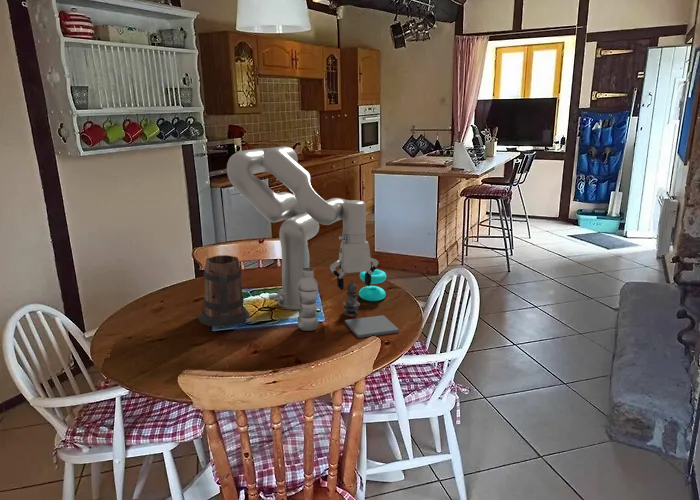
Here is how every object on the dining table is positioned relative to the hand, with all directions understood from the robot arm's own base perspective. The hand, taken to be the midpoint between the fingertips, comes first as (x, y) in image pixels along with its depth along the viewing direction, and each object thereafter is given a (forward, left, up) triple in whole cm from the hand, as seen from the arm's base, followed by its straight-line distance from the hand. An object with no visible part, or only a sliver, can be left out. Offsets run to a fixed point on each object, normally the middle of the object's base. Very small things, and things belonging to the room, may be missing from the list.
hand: (354, 286), depth 176 cm
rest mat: (+1, -12, -10) cm, 16 cm away
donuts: (+12, +13, -10) cm, 20 cm away
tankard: (-43, +8, -10) cm, 44 cm away
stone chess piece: (-1, +1, -10) cm, 10 cm away
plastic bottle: (-19, -7, -10) cm, 22 cm away
